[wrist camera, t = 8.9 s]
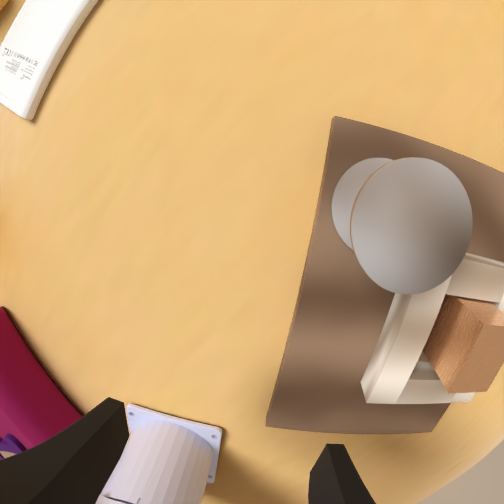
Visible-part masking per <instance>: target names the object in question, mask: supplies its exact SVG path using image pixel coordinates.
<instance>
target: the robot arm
mask: <svg viewBox="0 0 504 504" xmlns="http://www.w3.org/2000/svg"><path fill="white" fill-rule="evenodd" d="M126 412H127V418H128V423H129V429H130V434H131V436H130V438H129V431H128V426H127V420H126V414H125V407H124V403H123V402H121V401H118V400H115V399H112V398H110V397H109V398H107V399H105V400H104V401H103V402H101V403H100V404H99V405H98V406H96V407H95V408H94V409H92V410H91V411H90V412H88V413H87V414H86V415H84V416H83V417H82V418H80V419H79V420H77V421H76V422H74V423H73V424H72V425H70V426H69V427H67V428H66V429H64V430H63V431H61V432H59V433H58V434H56V435H54V436H53V437H51V438H49V439H48V440H46V441H44V442H42V443H40V444H38V445H36V446H34V447H32V448H30V449H28V450H26V451H23V452H21V453H18V454H16V455H13V456H10V457H7V458H4V459H1V460H0V504H201V503H202V499H203V495H204V491H205V488H206V484H207V483H214V481H215V475H216V469H217V462H218V456H219V450H220V443H221V437H222V429H221V428H219V427H216V426H211V425H207V424H202V423H198V422H194V421H190V420H186V419H182V418H178V417H174V416H171V415H167V414H163V413H160V412H157V411H153V410H150V409H147V408H143V407H140V406H137V405H134V404H128V405H127V406H126ZM128 438H129V440H128ZM127 440H128V442H127ZM126 443H127V444H126ZM104 486H105V487H104ZM308 499H309V504H376V503H375V502H374V500H373V498H372V497H371V495H370V494H369V492H368V490H367V488H366V487H365V485H364V483H363V481H362V480H361V478H360V476H359V474H358V472H357V470H356V468H355V466H354V464H353V462H352V460H351V458H350V456H349V454H348V452H347V450H346V448H345V446H344V445H343V444H326V446H325V448H324V450H323V451H322V453H321V455H320V457H319V458H318V460H317V462H316V463H315V465H314V467H313V468H312V470H311V472H310V479H309V493H308Z"/></svg>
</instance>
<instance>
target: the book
mask: <svg viewBox="0 0 504 504" xmlns="http://www.w3.org/2000/svg"><path fill="white" fill-rule="evenodd" d="M80 418H82V415H81V414H80V413H79V412H78V411H77V410H76V409H75V408H74V407H73V405H72V404H71V403H70V402H69V401H68V400H67V398H66V397H65V396H64V395H63V394H62V392H61V391H60V390H59V389H58V387H57V386H56V385H55V384H54V382H53V381H52V380H51V379H50V377H49V376H48V375H47V373H46V372H45V371H44V369H43V368H42V367H41V365H40V364H39V362H38V361H37V360H36V358H35V357H34V355H33V354H32V353H31V351H30V350H29V348H28V347H27V345H26V344H25V342H24V341H23V339H22V338H21V336H20V335H19V333H18V331H17V330H16V328H15V327H14V325H13V323H12V322H11V320H10V318H9V317H8V315H7V313H6V311H5V310H4V308H3V306H2V307H0V460H1V459H4V458H7V457H10V456H13V455H16V454H18V453H21V452H23V451H26V450H28V449H30V448H32V447H34V446H36V445H38V444H40V443H42V442H44V441H46V440H48V439H49V438H51V437H53V436H54V435H56V434H58V433H59V432H61V431H63V430H64V429H66V428H67V427H69V426H70V425H72V424H73V423H74V422H76V421H77V420H79V419H80ZM104 487H105V486H104Z"/></svg>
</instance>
